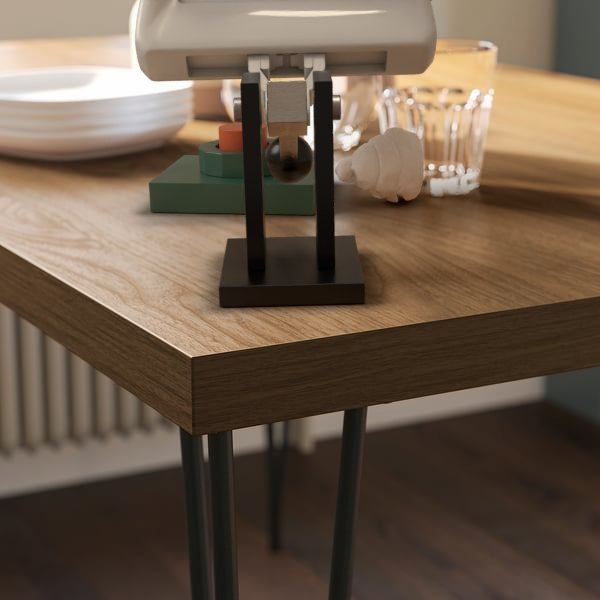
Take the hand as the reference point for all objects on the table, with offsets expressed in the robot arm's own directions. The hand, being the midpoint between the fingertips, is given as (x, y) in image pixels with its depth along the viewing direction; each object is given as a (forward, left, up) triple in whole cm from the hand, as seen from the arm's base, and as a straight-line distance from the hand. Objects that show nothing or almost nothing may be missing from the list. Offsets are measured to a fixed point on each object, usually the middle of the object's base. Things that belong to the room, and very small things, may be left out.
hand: (288, 121), depth 77 cm
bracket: (-2, +10, -7) cm, 13 cm away
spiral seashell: (-5, -9, -8) cm, 13 cm away
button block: (+5, -10, -7) cm, 13 cm away
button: (+5, -10, -4) cm, 12 cm away
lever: (-1, +6, -1) cm, 6 cm away
